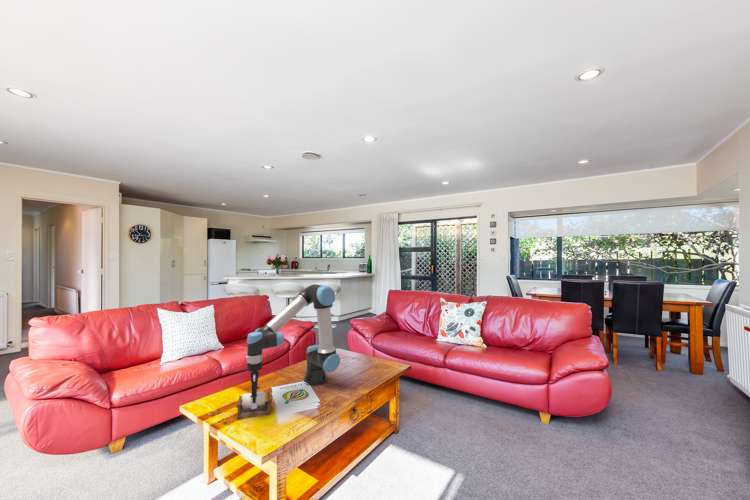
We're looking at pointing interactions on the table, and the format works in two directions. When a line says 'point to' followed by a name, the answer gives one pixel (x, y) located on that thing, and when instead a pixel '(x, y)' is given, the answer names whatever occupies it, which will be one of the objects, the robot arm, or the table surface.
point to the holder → (253, 412)
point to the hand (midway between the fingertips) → (254, 405)
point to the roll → (248, 399)
